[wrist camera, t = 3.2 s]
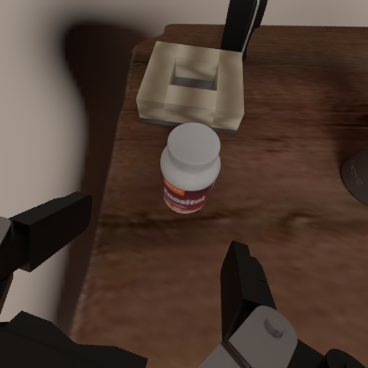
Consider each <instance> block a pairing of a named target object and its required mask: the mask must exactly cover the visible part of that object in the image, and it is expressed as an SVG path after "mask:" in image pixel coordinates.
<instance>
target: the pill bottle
mask: <svg viewBox="0 0 368 368" xmlns="http://www.w3.org/2000/svg"><path fill="white" fill-rule="evenodd" d="M219 151H220V140H219V138H218V136H217V134H216V133H215V132H214V131H213V130H212V129H211V128H209V127H208V126H206V125H203V124H200V123H185V124H182V125H179V126H178V127H176V128H175V129H173V131H172V132H171V133H170V135H169V137H168V142H167V146H166V147H165V149H164V150H163V152H162V155H161V160H160V166H161V180H162V193H163V198H164V200H165V202H166V204H167V205H168V206H169V207H170V208H171V209H172V210H174V211H176V212H179V213H192V212H195V211H197V210H199V209H200V208H201V207H202V206H203V205H204V204H205V202H206V200H207V198H208V196H209V194H210V191H211V189H212V187H213V185H214V183H215V181H216V178H217V176H218V174H219V171H220V165H221V163H220V157H219Z"/></svg>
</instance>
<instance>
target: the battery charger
mask: <svg viewBox="0 0 368 368" xmlns="http://www.w3.org/2000/svg"><path fill="white" fill-rule="evenodd" d="M266 5H267V0H230V3H229V8H228V13H227V19H226V23H225V29H224V34H223V39H222V43H221V48H222V49H223V50H226V51H234V52H241V53H242V61H243V60H245V59H246V49H247V46H248V43H249V40H250V37H251V35H252V33H253V32H254V29H255V28H258V27H260V24H261V21H262V18H263V15H264V11H265V8H266Z"/></svg>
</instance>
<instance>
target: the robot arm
mask: <svg viewBox="0 0 368 368" xmlns="http://www.w3.org/2000/svg"><path fill="white" fill-rule="evenodd" d="M341 174H342V179H343V181H344V183H345V185H346V187H347V188H348V190H349V191H350V192H351V193H352V194H353V195H354V196H355V197H356V198H357V199H359V200H360V201H361V202H363V203H364V204H366V205H368V146H367V147H365V148H364V149H363V150H361V151H360V152H358V153H357V154H355V155H354V156H352V157H351V158H349V159H348V160H347V161H345V163H344V164H343V166H342V170H341ZM91 208H92V196H91V195H87V194H84V193H81V192H74V193H72V194H70V195H68V196H66V197H61V198H56V199H53V200H50V201H48V202H46V203H45V204H41V205H39V206H37V207H34V208H32V209H29V210H27V211H25V212H22V213H20V214H18V215H15V216H13V217H11V218H8V219H7V218H4V217H0V314H1V311H2V308H3V305H4V302H5V299H6V297H7V294H8V291H9V288H10V285H11V283H12V280H13V272H14V271H15V270H17V269H18V268H19V269H22V270H25V271H27V272H31V271H33V270H34V269H35V268H37V267H38V266H39V265H41V264H42V263H43V262H44V261H46V260H47V259H48V258H50V257H51V256H52V255H53V254H55V253H56V252H57V251H59V250H60V249H61V248H63V247H64V246H65V245H67V244H68V243H69V242H70V241H72V240H73V239H74V238H76V237H77V236H78V235H79V234H81V233H82V232H83V231H85V230H86V228H87V227H88V225H89V223H90V217H91ZM220 278H221V313H222V342H221V343H220V344H219V345H218V346H217V347H216V349H215V350H214V351H213V352H212V353H211V354H210V355H209V356H208V358H207V359H206V360H205V361H204V362H203V363H202V364H201V365H200V367H199V368H365V367H364V366H363V365H362V364H361V363H360V362H359V361H357V360H356V359H355V358H353V357H352V356H351V355H349V354H347V353H346V352H343V351H341V350H338V349H331V350H329V351H328V352H327V354H326V355H325V356H323V355H322V354H320V353H319V352H317V351H316V350H314V349H312V348H311V347H309V346H308V345H306V344H305V343H303V342H302V341H300V340H299V339H298V338H297V335H296V333H295V330H294V328H293V327H292V325H291V324H290V323H289V321H288V320H287V319H286V318H285V317H284V316H283V315H282V314H281V313H279V312H278V311H277V309H276V306H275V303H274V300H273V297H272V294H271V291H270V288H269V285H268V284H267V279H266V277H265V273H264V270H263V267H262V266H261V264H260V263H259V262H258V260H257V259H256V258H255V257H251V256H250V252H249V248H248V245H246V244H243V243H239V242H236V241H232V242H231V244H230V247H229V249H228V252H227V254H226V257H225V259H224V262H223V265H222V268H221V275H220ZM147 361H148V359H147V358H145V357H142V356H139V355H137V354H134V353H131V352H129V351H126V350H124V349H121V348H118V347H116V346H99V345H81V344H76V343H75V342H73V341H72V340H71V339H70V338H69V337H68V336H66V335H65V334H64V333H63V332H62V331H61V330H60V329H59V328H57V327H56V326H55V325H54V324H53V323H52V322H50V321H47V320H45V319H42V318H40V317H36V316H34V315H31V314H29V313H26V312H24V311H21V312H20V313H18V314H17V315H16V316H15V317H14V318H13V319H12V320H11V321H10V322H0V368H145V367H146V364H147Z"/></svg>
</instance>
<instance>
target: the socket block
mask: <svg viewBox="0 0 368 368" xmlns="http://www.w3.org/2000/svg"><path fill="white" fill-rule="evenodd" d="M136 101H137V106H138V111H139V116H140V122H145V123H152V124H160V125H167V126H175V127H178V126H179V125H182V124H185V123H200V124H203V125H206V126H208V127H209V128H211V129H212V130H213V131H214V132H219V133H227V134H234V135H235V133H236V131H237V129H238V126H239V124H240V122H241V119H242V117H243V115H244V99H243V72H242V53H241V52H234V51H226V50H219V49H211V48H204V47H196V46H189V45H181V44H174V43H166V42H159V41H156V44H155V47H154V50H153V53H152V55H151V58H150V61H149V64H148V67H147V70H146V72H145V75H144V78H143V81H142V84H141V87H140V89H139V92H138V95H137V98H136Z"/></svg>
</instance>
